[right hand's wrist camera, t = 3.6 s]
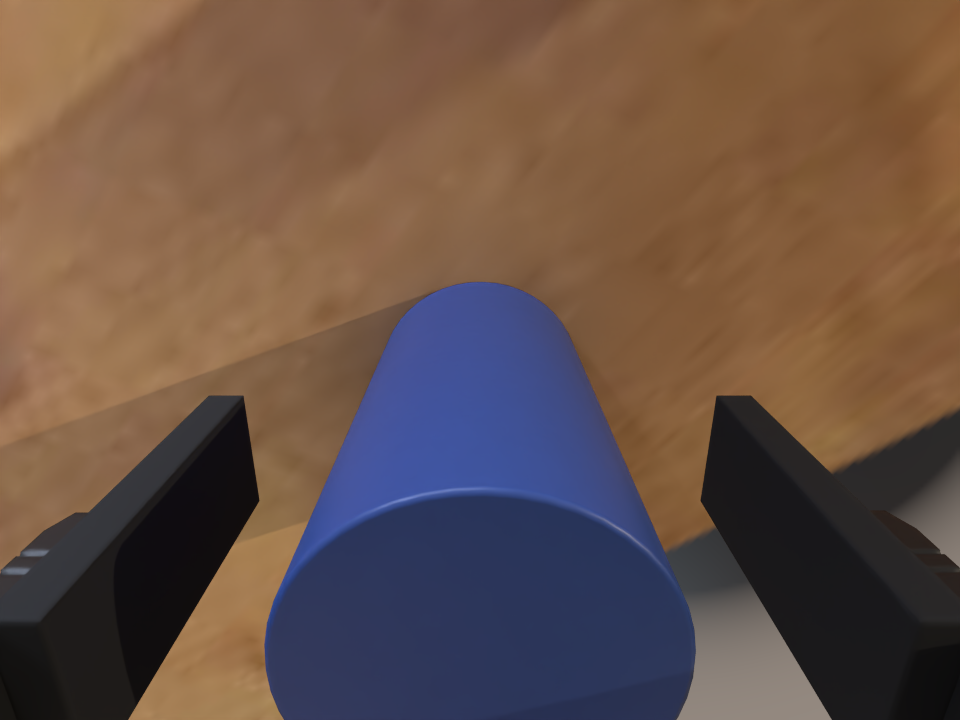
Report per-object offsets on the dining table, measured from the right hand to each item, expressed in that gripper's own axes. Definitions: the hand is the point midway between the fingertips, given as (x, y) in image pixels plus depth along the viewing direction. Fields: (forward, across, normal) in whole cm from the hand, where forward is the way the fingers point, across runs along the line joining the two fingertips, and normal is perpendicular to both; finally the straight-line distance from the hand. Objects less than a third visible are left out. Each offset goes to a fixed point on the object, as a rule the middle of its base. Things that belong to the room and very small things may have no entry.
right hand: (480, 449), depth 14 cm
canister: (+4, 0, 0) cm, 4 cm away
